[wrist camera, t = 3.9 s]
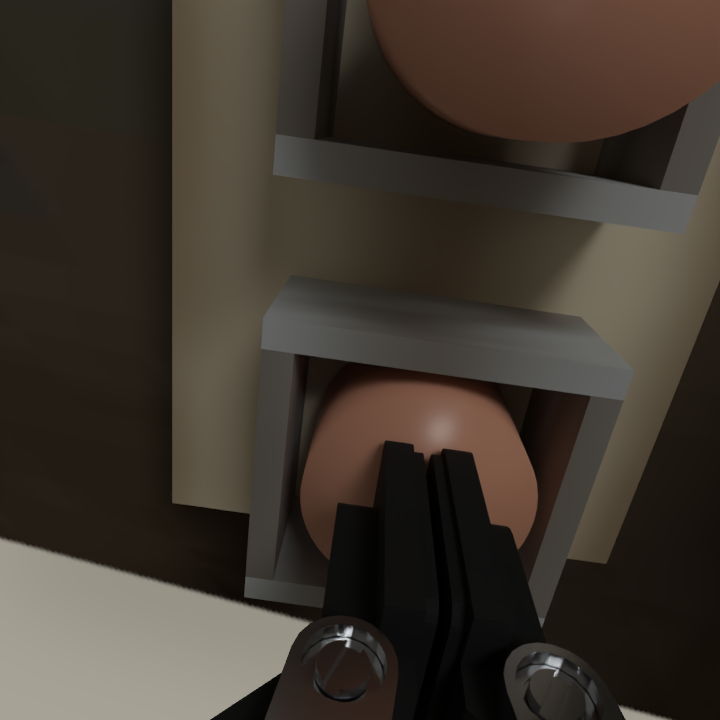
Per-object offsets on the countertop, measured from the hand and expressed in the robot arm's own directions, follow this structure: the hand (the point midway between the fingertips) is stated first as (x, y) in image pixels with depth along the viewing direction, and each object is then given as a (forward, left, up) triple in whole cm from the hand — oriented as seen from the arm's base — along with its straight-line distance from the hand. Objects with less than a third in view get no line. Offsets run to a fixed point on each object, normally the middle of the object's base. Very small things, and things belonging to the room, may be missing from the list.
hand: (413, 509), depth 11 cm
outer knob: (0, 0, -3) cm, 3 cm away
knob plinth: (0, -5, -7) cm, 9 cm away
